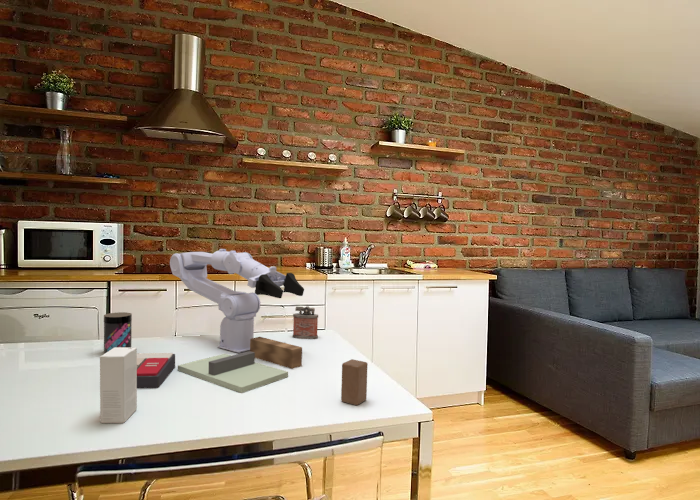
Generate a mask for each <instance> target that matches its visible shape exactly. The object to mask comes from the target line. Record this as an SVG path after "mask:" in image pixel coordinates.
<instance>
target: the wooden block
mask: <svg viewBox="0 0 700 500" xmlns="http://www.w3.org/2000/svg"><path fill="white" fill-rule="evenodd" d="M368 366H369V365H368V362H366V361H362V360H357V359H350V360H347V361H345V362H342V364H341V391H340V392H341V393H340V394H341V395H340V401H341V402H343V403H346V404H351V405H354V406H358V405H360V404H362V403H363V402H365V401H367V396H368V395H367V391H368V388H367V387H368Z"/></svg>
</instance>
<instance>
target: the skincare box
mask: <svg viewBox="0 0 700 500" xmlns="http://www.w3.org/2000/svg"><path fill="white" fill-rule="evenodd" d="M137 353H138V352H137V347H131V348H126V347H115V348H113V349H111V350H110V351H108V352H107V353H105V354H104V353H103V354H102V355H100V356H99V396H100V397H99V398H100V400H99V401H100V402H99V404H100V405H99V406H100V407H99V409H100V410H99V412H100V413H99V415H100V416H99V417H100V421H99V422H100V423H101V424H124V423H125V422H126V421H127V420H128V419H129V418H130V417H131V416H132V415H133V414H134V413H135V412H136V411H137V409H138V405H137V404H138V403H137V402H138V399H137V398H138V388H137Z"/></svg>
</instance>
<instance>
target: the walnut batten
mask: <svg viewBox="0 0 700 500" xmlns="http://www.w3.org/2000/svg"><path fill="white" fill-rule="evenodd" d="M249 351H251V352H254V353H255V359H257V360H261V361H265V362H268V363H271V364H273V365H277V366H281V367H284V368H288V369H291V370H294V369H297V368H299V367H302V366H303V365H302V364H303V347H302V346H297V345H295V344H290V343H287V342H283V341H278V340H275V339H271V338H268V337H263V336H257V337H254V338H252V339H250V350H249Z"/></svg>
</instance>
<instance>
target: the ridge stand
mask: <svg viewBox="0 0 700 500" xmlns="http://www.w3.org/2000/svg"><path fill="white" fill-rule="evenodd" d="M255 359H256V358H255V353H254V352H251V351H250V350H249V351H245V352H241V353H236V354H233V355H232V354H228V353H221V354H218V355H213V356H211V357H210V356H209V357H206V358H203V359H198V360H195V361H189V362H186V363H182V364H178V365H177V371H178V372H181V373H184V374H187V375H189V376H193V377H195V378H198V379H201V380H203V381H206V382H209V383H213V384H214V385H218V386H220V387H223V388H225V389H229V390H231V391H234V392H236V393H241V394H243V393H246V392H249V391H251V390H255V389H258V388H260V387H263V386H266V385H268V384H271V383H274V382H278V381H280V380H283V379H286V378H289V371H286V370H283V369H280V368H277V367H273V366H269V365H267V364H262V363H259V362H255Z"/></svg>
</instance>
